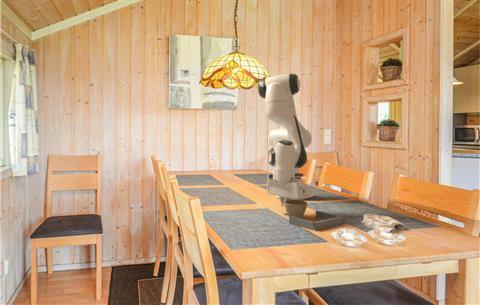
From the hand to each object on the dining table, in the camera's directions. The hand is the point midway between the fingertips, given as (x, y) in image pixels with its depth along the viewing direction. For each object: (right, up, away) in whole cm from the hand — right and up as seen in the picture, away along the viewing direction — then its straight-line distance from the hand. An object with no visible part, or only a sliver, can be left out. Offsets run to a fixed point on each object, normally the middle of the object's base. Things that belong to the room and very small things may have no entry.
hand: (284, 206), depth 175 cm
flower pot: (+4, -5, -5) cm, 8 cm away
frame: (+12, -5, -14) cm, 19 cm away
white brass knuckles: (+38, -6, -17) cm, 42 cm away
